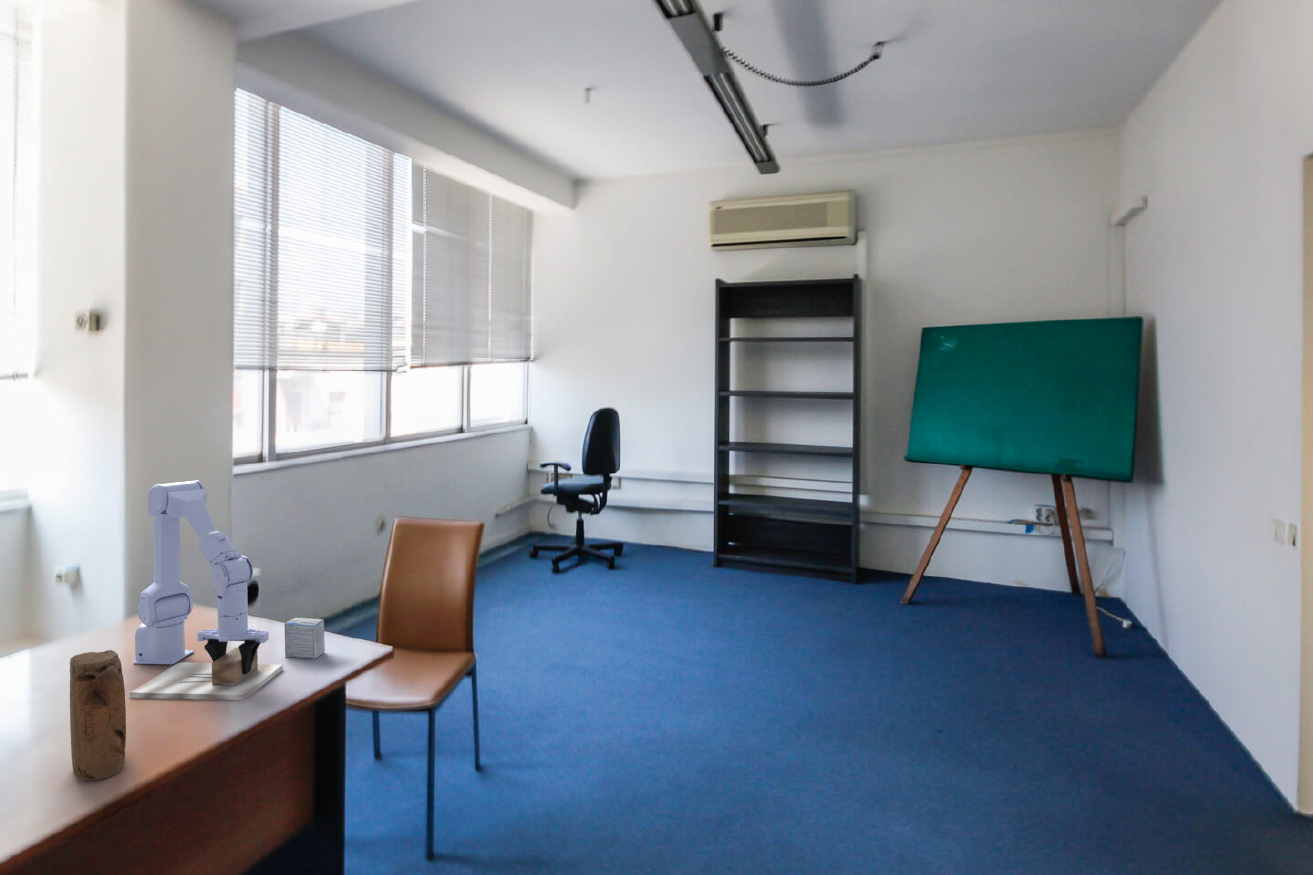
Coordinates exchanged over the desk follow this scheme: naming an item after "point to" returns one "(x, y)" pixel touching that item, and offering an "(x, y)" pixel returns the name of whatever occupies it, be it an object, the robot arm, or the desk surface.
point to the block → (97, 714)
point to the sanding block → (230, 669)
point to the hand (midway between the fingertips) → (234, 672)
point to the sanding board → (202, 683)
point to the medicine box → (304, 638)
